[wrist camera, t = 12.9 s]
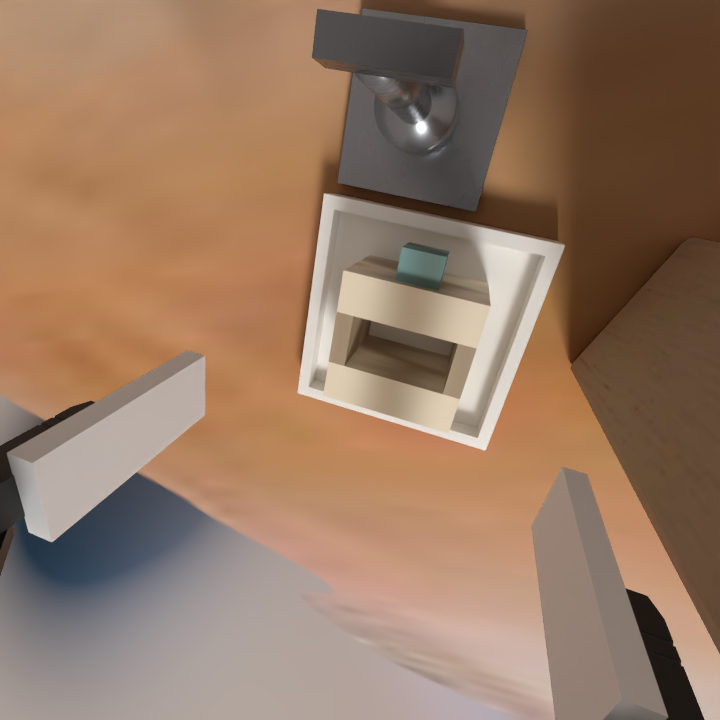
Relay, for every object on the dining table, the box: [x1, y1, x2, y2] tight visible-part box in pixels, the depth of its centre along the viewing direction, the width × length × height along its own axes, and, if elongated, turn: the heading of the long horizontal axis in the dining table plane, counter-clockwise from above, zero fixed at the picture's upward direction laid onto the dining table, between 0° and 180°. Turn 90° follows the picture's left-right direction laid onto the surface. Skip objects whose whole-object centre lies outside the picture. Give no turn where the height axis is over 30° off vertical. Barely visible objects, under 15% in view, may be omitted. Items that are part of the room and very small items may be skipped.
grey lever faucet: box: [312, 8, 528, 212], centre depth 18 cm, size 9×9×14 cm
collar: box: [323, 242, 491, 433], centre depth 25 cm, size 8×10×6 cm
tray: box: [298, 193, 565, 450], centre depth 28 cm, size 15×15×2 cm
